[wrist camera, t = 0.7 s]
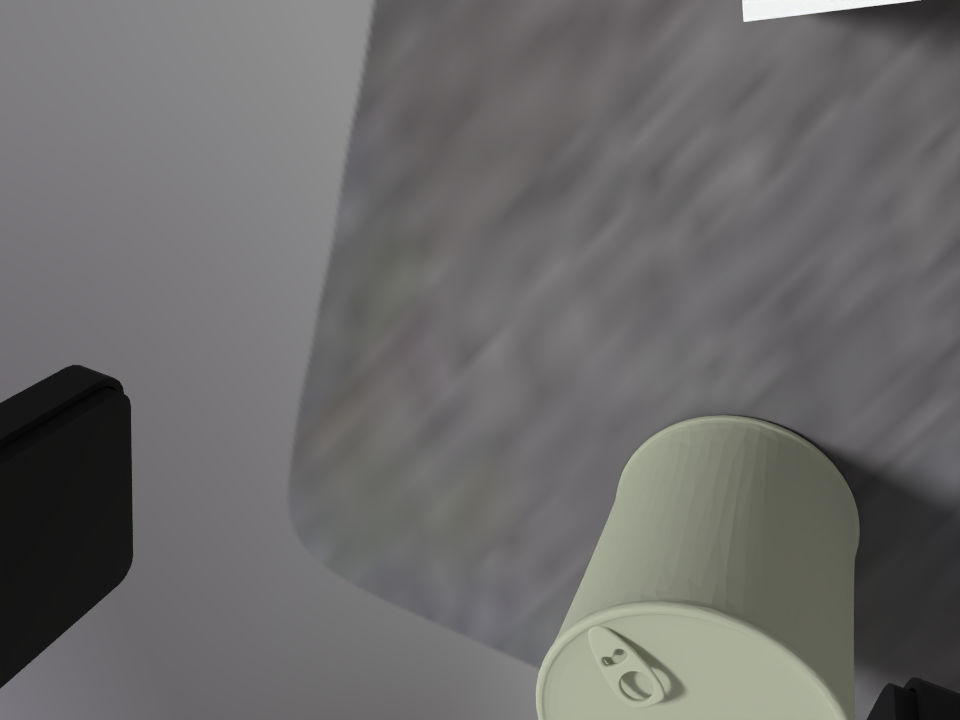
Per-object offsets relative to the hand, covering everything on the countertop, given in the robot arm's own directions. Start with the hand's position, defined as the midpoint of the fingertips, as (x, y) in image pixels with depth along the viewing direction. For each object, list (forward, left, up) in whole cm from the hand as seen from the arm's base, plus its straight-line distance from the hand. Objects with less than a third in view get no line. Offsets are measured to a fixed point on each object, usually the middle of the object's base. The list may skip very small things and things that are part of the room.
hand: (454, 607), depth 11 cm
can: (+13, +5, -24) cm, 28 cm away
